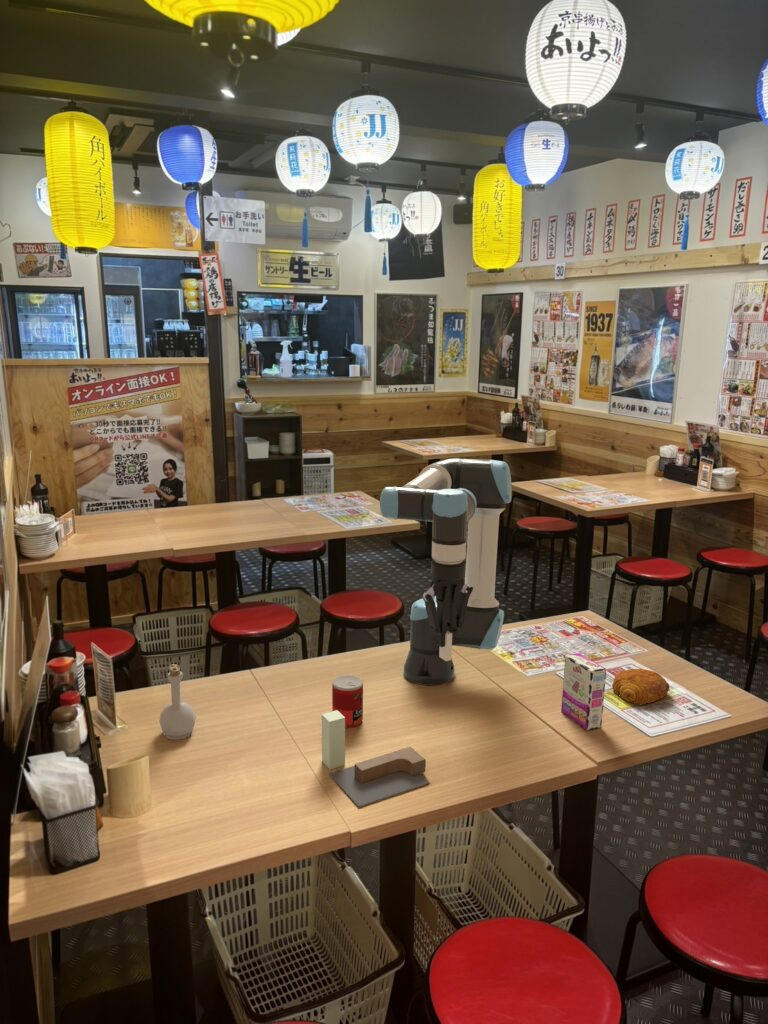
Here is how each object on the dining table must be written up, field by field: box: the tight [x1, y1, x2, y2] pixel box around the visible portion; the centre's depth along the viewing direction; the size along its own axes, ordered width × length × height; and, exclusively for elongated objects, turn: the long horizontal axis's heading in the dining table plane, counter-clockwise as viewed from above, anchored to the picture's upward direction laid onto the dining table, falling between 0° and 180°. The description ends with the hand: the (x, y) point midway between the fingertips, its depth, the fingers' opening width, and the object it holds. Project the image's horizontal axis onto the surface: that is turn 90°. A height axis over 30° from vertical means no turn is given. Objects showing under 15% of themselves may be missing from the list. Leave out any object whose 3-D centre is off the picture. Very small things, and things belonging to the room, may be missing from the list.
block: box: [321, 710, 346, 770], centre depth 169 cm, size 4×4×12 cm
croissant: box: [611, 668, 670, 705], centre depth 207 cm, size 14×16×8 cm
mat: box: [328, 765, 431, 809], centre depth 164 cm, size 18×14×1 cm
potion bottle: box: [158, 663, 197, 741], centre depth 181 cm, size 9×9×18 cm
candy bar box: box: [560, 652, 607, 731], centre depth 190 cm, size 11×5×16 cm, turn 23°
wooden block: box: [354, 746, 427, 783], centre depth 165 cm, size 7×3×15 cm
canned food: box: [331, 675, 364, 729], centre depth 189 cm, size 8×8×11 cm
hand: (445, 658), depth 167 cm, fingers closed
